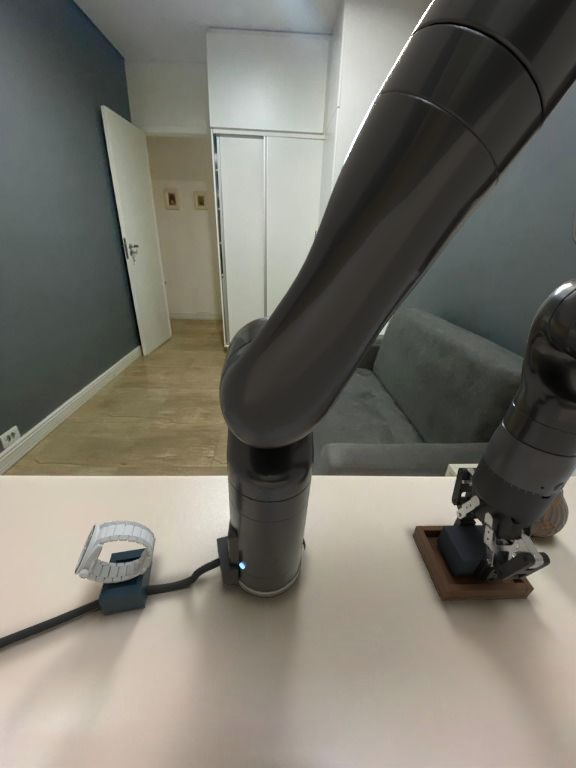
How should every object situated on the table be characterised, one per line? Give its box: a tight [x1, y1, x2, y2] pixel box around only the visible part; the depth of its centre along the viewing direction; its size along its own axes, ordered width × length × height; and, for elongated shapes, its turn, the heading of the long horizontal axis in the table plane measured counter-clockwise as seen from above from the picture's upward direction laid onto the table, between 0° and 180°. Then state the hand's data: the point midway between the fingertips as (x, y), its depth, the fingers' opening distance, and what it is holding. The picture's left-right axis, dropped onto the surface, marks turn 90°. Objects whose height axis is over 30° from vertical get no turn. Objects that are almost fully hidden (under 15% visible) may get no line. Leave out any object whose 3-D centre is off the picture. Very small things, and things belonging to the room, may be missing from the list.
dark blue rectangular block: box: [437, 524, 514, 576], centre depth 42 cm, size 7×5×4 cm
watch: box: [74, 520, 157, 616], centre depth 36 cm, size 6×8×11 cm
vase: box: [531, 488, 570, 538], centre depth 48 cm, size 7×7×9 cm
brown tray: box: [412, 524, 535, 601], centre depth 43 cm, size 12×9×2 cm
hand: (470, 555), depth 43 cm, fingers closed on dark blue rectangular block, 5 cm apart
